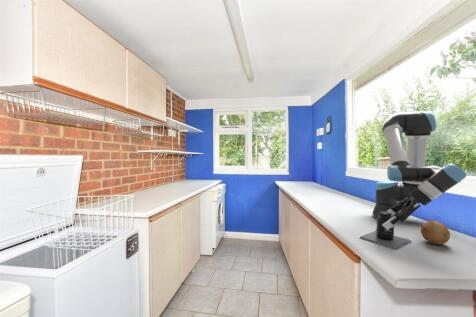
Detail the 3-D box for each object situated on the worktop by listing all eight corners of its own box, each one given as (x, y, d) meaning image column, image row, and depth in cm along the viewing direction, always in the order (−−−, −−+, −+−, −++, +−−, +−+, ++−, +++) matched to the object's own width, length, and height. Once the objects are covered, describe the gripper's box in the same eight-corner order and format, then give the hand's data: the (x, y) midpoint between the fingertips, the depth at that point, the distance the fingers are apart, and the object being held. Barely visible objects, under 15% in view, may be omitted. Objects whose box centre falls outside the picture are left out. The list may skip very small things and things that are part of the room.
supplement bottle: (387, 241, 97) (387, 215, 97) (372, 236, 104) (373, 211, 104) (397, 239, 100) (397, 213, 100) (382, 234, 106) (382, 210, 106)
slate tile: (376, 232, 112) (376, 230, 112) (411, 241, 99) (411, 240, 99) (359, 238, 104) (359, 236, 104) (395, 249, 91) (395, 247, 91)
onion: (438, 249, 91) (438, 225, 91) (414, 240, 101) (415, 218, 101) (456, 247, 93) (456, 224, 93) (431, 238, 103) (431, 217, 103)
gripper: (442, 206, 82) (394, 238, 90) (424, 195, 104) (386, 222, 111) (424, 191, 85) (378, 224, 92) (410, 183, 106) (374, 210, 114)
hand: (383, 223), depth 102 cm, fingers open, 13 cm apart
